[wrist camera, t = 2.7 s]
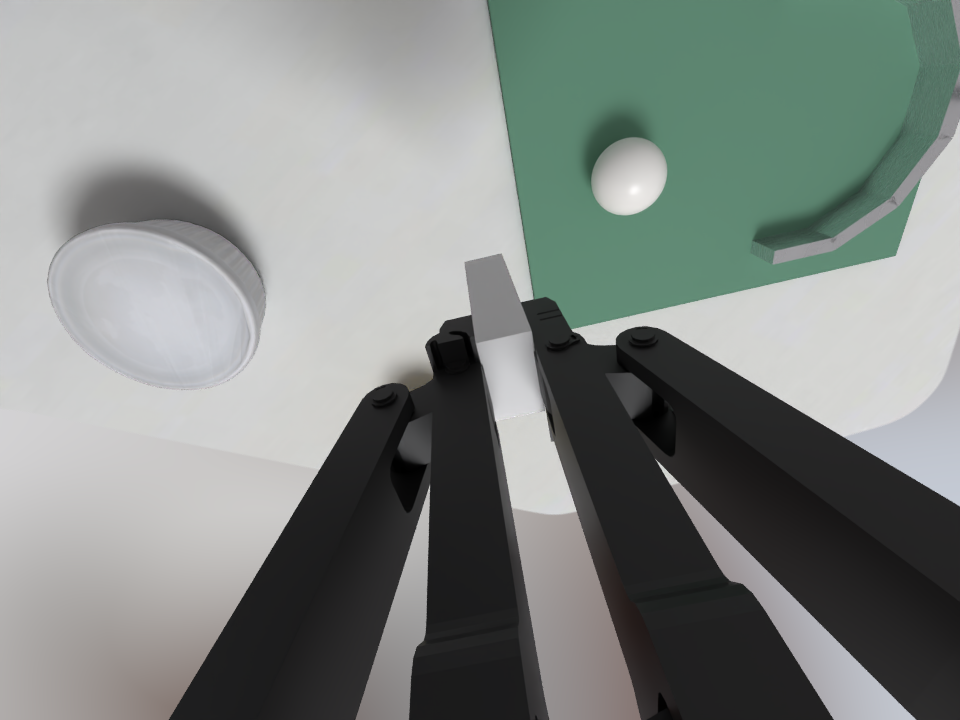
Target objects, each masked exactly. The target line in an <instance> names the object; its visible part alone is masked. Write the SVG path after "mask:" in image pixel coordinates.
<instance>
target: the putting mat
mask: <svg viewBox="0 0 960 720" xmlns="http://www.w3.org/2000/svg"><path fill="white" fill-rule="evenodd" d="M487 1H488V7H489V14H490V20H491V26H492V33H493V39H494V46H495V52H496V58H497V65H498V71H499V77H500V84H501V90H502V97H503V103H504V109H505V116H506V122H507V129H508V135H509V141H510V148H511V154H512V161H513V167H514V173H515V180H516V186H517V192H518V199H519V205H520V212H521V218H522V224H523V231H524V237H525V244H526V250H527V256H528V263H529V269H530V275H531V282H532V288H533V295H534V299H538V298H543V297H547V298H549V299H551V300H553V301H555V302H556V303H557V305H558V307H559V309H560V310H561V312H562V314H563V316H564V318H565V319H566V321H567V323H568V325H569V326H570V328H571V329H574V328H579V327H583V326H587V325H592V324H596V323H601V322H605V321H610V320H614V319H618V318H623V317H627V316H632V315H636V314H641V313H645V312H649V311H654V310H658V309H663V308H667V307H671V306H676V305H680V304H685V303H689V302H694V301H698V300H702V299H707V298H711V297H716V296H720V295H725V294H729V293H733V292H738V291H742V290H747V289H751V288H755V287H760V286H764V285H769V284H773V283H778V282H782V281H786V280H791V279H795V278H800V277H804V276H809V275H813V274H817V273H822V272H826V271H831V270H835V269H839V268H844V267H848V266H853V265H857V264H862V263H866V262H870V261H875V260H879V259H884V258H888V257H893V256H896V253H897V250H898V247H899V244H900V241H901V238H902V235H903V232H904V229H905V226H906V223H907V220H908V217H909V214H910V211H911V208H912V205H913V202H914V198H915V195H916V192H917V189H918V186H919V183H920V180H921V179H920V180H919V181H918V183H917V184H916V185H915V186H914V188H913V189H912V190H911V191H910V193H909V194H908V195H907V196H906V198H905V199H904V200H903V202H902V203H901V204H900V205H899V206H897V208H896V209H894V210H893V211H892V212H890V213H889V214H887V215H886V216H884V217H883V218H881V219H880V220H878V221H877V222H875V223H874V224H872V225H871V226H870V227H868V228H867V229H865V230H864V231H862V232H861V233H859V234H858V235H856V236H855V237H853V238H852V239H850V240H849V241H848V242H846V243H845V244H843V245H842V246H840V247H839V248H837V249H836V250H833V251H831V252H826V253H822V254H817V255H813V256H809V257H804V258H800V259H795V260H791V261H787V262H782V263H778V264H774V265H772V264H770V263H768V262H766V261H764V260H762V259H760V258H758V257H756V256H754V255H753V254H751V253H750V252H751V245H752V240H756V239H761V238H765V237H769V236H774V235H778V234H782V233H787V232H791V231H795V230H800V229H804V228H807V227H809V226H810V225H811V224H813V223H814V222H816V221H817V220H818V219H820V218H821V217H823V216H824V215H825V214H827V213H828V212H830V211H831V210H832V209H834V208H835V207H837V206H838V205H839V204H841V203H842V202H844V201H845V200H846V199H848V198H849V197H851V196H852V195H853V194H855V193H856V192H858V191H859V190H860V188H861V187H862V185H863V184H864V183H865V181H866V180H867V179H868V177H869V176H870V175H871V173H872V172H873V170H874V169H875V168H876V166H877V165H878V164H879V162H880V161H881V159H882V158H883V157H884V155H885V154H886V153H887V151H888V150H889V148H890V147H891V146H892V144H893V143H894V142H895V140H896V139H897V138H898V136H899V135H900V133H901V130H902V127H903V123H904V120H905V116H906V113H907V109H908V106H909V103H910V99H911V96H912V92H913V89H914V85H915V82H916V78H917V75H918V72H919V68H920V63H919V59H918V55H917V50H916V46H915V42H914V37H913V33H912V29H911V24H910V20H909V16H908V12H907V7H906V6H904V5H902V4H900V3H899V2H897V1H895V0H487ZM630 137H638V138H644V139H647V140H649V141H651V142H653V143H654V144H655V145H656V146H657V147H658V148H659V149H660V150H661V151H662V153H663V155H664V157H665V160H666V163H667V179H666V183H665V186H664V188H663V191H662V192H661V194H660V196H659V197H658V198H657V200H656V201H655V202H654V203H653V204H652V205H651V206H649V207H648V208H647V209H645V210H643V211H641V212H639V213H636V214H632V215H616V214H613V213H610V212H608V211H607V210H605V209H604V208H603V207H601V206H600V204H599V203H598V202H597V200H596V199H595V197H594V194H593V191H592V186H591V177H592V171H593V168H594V165H595V163H596V161H597V159H598V158H599V156H600V155H601V154H602V152H603V151H604V150H605V149H606V148H607V147H609V146H610V145H611V144H613V143H615V142H617V141H619V140H621V139H625V138H630Z"/></svg>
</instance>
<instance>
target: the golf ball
mask: <svg viewBox="0 0 960 720" xmlns="http://www.w3.org/2000/svg"><path fill="white" fill-rule="evenodd" d="M666 179H667V163H666V160H665V157H664V155H663V153H662V151H661V150H660V149H659V148H658V147H657V146H656V145H655V144H654V143H653V142H651V141H649V140H647V139H644V138H638V137H630V138H625V139H621V140H619V141H617V142H615V143H613V144H611V145H610V146H609V147H607V148H606V149H605V150H604V151H603V152H602V154H601V155H600V156H599V158H598V159H597V161H596V163H595V165H594V168H593V171H592V177H591V186H592V191H593V194H594V197H595V199H596V200H597V202H598V203H599V204H600V206H601V207H603V208H604V209H605V210H607V211H608V212H610V213H613V214H616V215H632V214H636V213H639V212H641V211H643V210H645V209H647V208H648V207H649V206H651V205H652V204H653V203H654V202H655V201H656V200H657V198H658V197H659V196H660V194H661V192H662V191H663V188H664V186H665V183H666Z"/></svg>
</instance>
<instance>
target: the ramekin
mask: <svg viewBox="0 0 960 720" xmlns="http://www.w3.org/2000/svg"><path fill="white" fill-rule="evenodd" d="M47 285H48V290H49V296H50V299H51V303H52V306H53V308H54V310H55V313H56V315H57V317H58V318H59V320H60V322H61V323H62V325H63V326H64V328H65V329H66V331H67V332H68V333H69V335H70V336H71V337H72V339H73V340H74V341H75V342H76V343H77V344H78V345H79V346H80V347H81V348H82V349H83V350H84V351H85V352H86V353H87V354H89V355H90V356H91V357H93V358H94V359H95V360H97V361H98V362H100V363H102V364H103V365H105V366H106V367H108V368H110V369H112V370H114V371H115V372H117V373H119V374H121V375H123V376H126V377H128V378H130V379H133V380H136V381H138V382H141V383H144V384H147V385H151V386H155V387H159V388H166V389H175V390H197V389H206V388H211V387H214V386H217V385H220V384H222V383H224V382H226V381H228V380H230V379H232V378H234V377H235V376H236V375H238V374H239V373H240V372H241V371H242V370H243V369H244V368H245V367H246V366H247V365H248V363H249V362H250V360H251V359H252V358H253V356H254V354H255V352H256V349H257V347H258V343H259V339H260V328H261V325H262V322H263V318H264V315H265V308H266V303H265V294H264V288H263V285H262V282H261V279H260V278H259V276H258V273H257V271H256V270H255V269H254V267H253V265H252V264H251V262H250V261H249V260H248V259H247V258H246V256H245V255H244V254H243V253H242V252H241V251H240V250H239V249H238V248H237V247H235V246H234V245H233V244H232V243H231V242H230V241H228V240H227V239H225V238H224V237H222V236H221V235H219V234H217V233H215V232H213V231H212V230H210V229H207V228H204V227H202V226H199V225H195V224H192V223H190V222H183V221H179V220H168V219H163V220H147V221H141V222H135V223H129V222H122V223H111V224H105V225H101V226H98V227H94V228H91V229H89V230H86V231H84V232H82V233H80V234H78V235H76V236H74V237H73V238H71V239H70V240H68V241H67V242H66V243H65V244H64V245H62V247H61V248H60V249H59V250H58V251H57V252H56V254H55V256H54V258H53V260H52V262H51V264H50V268H49V273H48V278H47Z"/></svg>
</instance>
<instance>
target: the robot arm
mask: <svg viewBox="0 0 960 720" xmlns="http://www.w3.org/2000/svg"><path fill="white" fill-rule="evenodd" d="M465 270H466V277H467V284H468V292H469V299H470V306H471V314H472V315H469V316H465V317H460V318H456V319H452V320H447V321H445V322H444V324H443V325H442V326H441V328H440V333H438V334H437V335H435V336H433V337H432V338H431V339H430V340H429V341H427V343H426V346H425V348H426V351H427V354H428V357H429V360H430V363H431V366H432V369H433V379H432V380H431V381H430V382H428V383H427V384H426V385H424V386H422V387H420V388H418V389H415V390H413V391H411V392H409V390H408V388H407V387H406V386H405V385H402V384H398V383H391V384H386V385H382V386H380V387H377V388H375V389H374V390H372V391H371V392H369V393H368V394H367V395H366V396H365V397H364V398H363V399H362V401H361V402H360V404H359V406H358V407H357V409H356V411H355V412H354V414H353V416H352V417H351V419H350V421H349V422H348V424H347V425H346V427H345V429H344V430H343V432H342V434H341V435H340V437H339V439H338V440H337V442H336V444H335V445H334V447H333V449H332V450H331V452H330V454H329V455H328V457H327V459H326V460H325V462H324V464H323V465H322V467H321V469H320V470H319V472H318V474H317V475H316V477H315V478H314V480H313V482H312V484H311V485H310V487H309V488H308V490H307V492H306V493H305V495H304V497H303V498H302V500H301V502H300V503H299V505H298V507H297V508H296V510H295V512H294V513H293V515H292V517H291V518H290V520H289V522H288V523H287V525H286V526H285V528H284V530H283V532H282V533H281V535H280V536H279V538H278V540H277V541H276V543H275V545H274V546H273V548H272V550H271V552H270V553H269V555H268V557H267V558H266V560H265V561H264V563H263V565H262V566H261V568H260V570H259V571H258V573H257V575H256V576H255V578H254V580H253V581H252V583H251V585H250V586H249V588H248V590H247V591H246V593H245V594H244V596H243V598H242V599H241V601H240V603H239V604H238V606H237V608H236V609H235V611H234V613H233V614H232V616H231V618H230V619H229V621H228V623H227V624H226V626H225V627H224V629H223V631H222V632H221V634H220V636H219V637H218V639H217V641H216V642H215V644H214V646H213V647H212V649H211V651H210V652H209V654H208V656H207V657H206V659H205V661H204V662H203V664H202V666H201V667H200V669H199V671H198V672H197V674H196V676H195V677H194V679H193V680H192V682H191V684H190V686H189V687H188V689H187V690H186V692H185V694H184V695H183V697H182V699H181V700H180V702H179V704H178V705H177V707H176V709H175V710H174V712H173V714H172V715H171V717H170V719H169V720H355V719H356V716H357V713H358V710H359V706H360V703H361V700H362V697H363V694H364V691H365V687H366V684H367V681H368V678H369V675H370V672H371V669H372V665H373V662H374V659H375V656H376V653H377V650H378V646H379V643H380V640H381V637H382V634H383V630H384V627H385V624H386V621H387V618H388V615H389V612H390V608H391V605H392V602H393V599H394V596H395V592H396V589H397V586H398V583H399V580H400V577H401V574H402V571H403V567H404V564H405V561H406V558H407V555H408V551H409V549H410V545H411V542H412V539H413V536H414V532H415V530H416V526H417V523H418V520H419V517H420V514H421V511H422V507H423V504H424V501H425V498H426V495H427V492H428V489H429V485H430V513H429V548H428V549H429V550H428V586H427V621H426V635H425V638H424V641H423V642H422V643H421V644H420V645H418V646H417V648H416V651H415V655H414V658H413V666H412V676H411V693H410V713H409V720H549V717H548V712H547V707H546V702H545V697H544V692H543V686H542V681H541V675H540V669H539V663H538V658H537V652H536V647H535V640H534V635H533V629H532V623H531V617H530V611H529V606H528V600H527V594H526V589H525V584H524V577H523V571H522V566H521V560H520V554H519V548H518V543H517V536H516V531H515V525H514V519H513V513H512V508H511V502H510V496H509V490H508V485H507V479H506V473H505V467H504V462H503V456H502V450H501V444H500V438H499V433H498V429H497V425H496V421H500V420H505V419H509V418H514V417H518V416H523V415H528V414H532V413H537V412H542V411H545V408H546V413H547V419H548V425H549V431H550V437H551V442H552V441H554V442H555V445H556V448H557V451H558V455H559V458H560V461H561V464H562V467H563V470H564V473H565V476H566V479H567V482H568V485H569V488H570V492H571V495H572V498H573V501H574V504H575V507H576V510H577V513H578V516H579V519H580V522H581V525H582V528H583V532H584V535H585V538H586V541H587V544H588V547H589V550H590V553H591V556H592V559H593V563H594V565H595V569H596V572H597V575H598V578H599V581H600V584H601V587H602V590H603V593H604V596H605V600H606V602H607V605H608V608H609V612H610V615H611V618H612V621H613V624H614V627H615V630H616V633H617V637H618V640H619V642H620V646H621V648H622V652H623V655H624V658H625V661H626V664H627V667H628V670H629V674H630V677H631V680H632V684H633V687H634V692H635V696H636V700H637V705H638V709H639V713H640V717H641V720H834V719H833V718H832V716H831V715H830V713H829V712H828V710H827V708H826V707H825V705H824V704H823V702H822V701H821V699H820V697H819V696H818V694H817V692H816V691H815V689H814V688H813V686H812V684H811V683H810V681H809V680H808V678H807V677H806V675H805V673H804V672H803V670H802V669H801V667H800V665H799V664H798V662H797V661H796V659H795V658H794V656H793V654H792V653H791V651H790V650H789V648H788V647H787V645H786V643H785V642H784V640H783V638H782V637H781V635H780V634H779V632H778V630H777V629H776V627H775V626H774V624H773V623H772V621H771V620H770V618H769V616H768V615H767V613H766V611H765V610H764V609H763V607H762V606H761V604H760V603H759V602H758V601H757V599H756V597H755V596H754V595H753V593H752V592H751V591H749V590H748V589H747V588H746V587H745V586H744V585H743V584H741V583H736V582H731V581H729V579H727V578H726V577H725V576H724V574H723V573H722V571H721V570H720V568H719V567H718V565H717V563H716V562H715V560H714V558H713V556H712V555H711V553H710V551H709V550H708V548H707V546H706V545H705V543H704V541H703V539H702V538H701V536H700V534H699V533H698V531H697V529H696V528H695V526H694V524H693V523H692V521H691V519H690V517H689V516H688V514H687V512H686V511H685V509H684V507H683V506H682V504H681V502H680V501H679V499H678V497H677V495H676V494H675V492H674V490H673V489H672V487H671V485H670V483H669V482H668V480H667V478H666V477H665V475H664V473H663V472H662V470H661V468H660V467H659V465H658V463H657V461H658V462H659V463H660V464H661V465H662V466H663V467H664V468H665V469H666V470H667V471H668V472H669V473H670V474H671V475H672V476H673V477H674V478H675V479H676V480H677V481H678V482H679V483H680V484H681V485H682V486H683V487H684V488H685V489H686V490H687V491H688V492H689V493H690V494H691V495H692V496H693V497H694V498H695V499H696V500H697V501H698V502H699V503H700V504H701V505H702V506H703V507H704V508H705V509H706V510H707V511H708V512H709V513H710V514H711V515H712V516H713V517H714V518H715V519H716V520H717V521H718V522H719V523H720V524H722V526H723V527H724V528H725V529H726V530H727V531H728V532H729V533H730V534H731V535H732V536H733V537H734V538H735V539H736V540H737V541H738V542H739V543H740V544H741V545H742V546H743V547H744V548H745V549H746V550H747V551H748V552H749V553H750V554H751V555H752V556H753V557H754V558H755V559H756V560H757V561H758V562H759V563H760V564H761V565H762V566H763V567H764V568H765V569H766V570H767V571H768V572H769V573H770V574H771V575H772V576H773V577H774V578H775V579H776V580H777V581H778V582H779V583H780V584H781V585H782V586H783V587H784V588H785V589H786V590H787V591H788V592H789V593H790V594H791V595H792V596H793V597H794V598H795V599H796V600H797V601H798V602H799V603H800V604H801V605H802V606H803V607H804V608H805V609H806V610H807V611H808V612H809V613H810V614H811V615H812V616H813V617H814V618H815V619H816V620H817V621H818V622H819V623H820V624H821V625H822V626H823V627H824V628H825V629H826V630H827V631H828V632H829V633H830V634H831V635H832V636H833V637H834V638H835V639H836V640H837V641H838V642H839V643H840V644H841V645H842V646H843V647H844V648H845V649H846V650H847V651H848V652H849V653H850V654H851V655H852V656H853V657H854V658H855V659H856V660H857V661H858V662H859V663H860V664H861V665H862V666H863V667H864V668H865V669H866V670H867V671H868V672H869V673H870V674H871V675H872V676H873V677H874V678H875V679H876V680H877V681H878V682H879V683H880V684H881V685H882V686H883V687H884V688H885V689H886V690H887V691H888V692H889V693H890V694H891V695H892V696H893V697H894V698H895V699H896V700H897V701H898V702H899V703H900V704H901V705H902V706H903V707H904V708H905V709H906V710H907V711H908V712H909V713H910V714H911V715H912V716H913V717H914V718H915V719H916V720H960V506H958V505H956V504H955V503H953V502H952V501H950V500H948V499H946V498H945V497H943V496H941V495H940V494H938V493H936V492H935V491H933V490H931V489H930V488H928V487H926V486H925V485H923V484H921V483H920V482H918V481H916V480H915V479H913V478H911V477H909V476H908V475H906V474H904V473H903V472H901V471H899V470H897V469H896V468H894V467H893V466H891V465H889V464H887V463H886V462H884V461H883V460H881V459H879V458H878V457H876V456H874V455H872V454H871V453H869V452H867V451H866V450H864V449H862V448H861V447H859V446H857V445H855V444H854V443H852V442H851V441H849V440H847V439H846V438H844V437H842V436H841V435H839V434H837V433H836V432H834V431H832V430H830V429H829V428H827V427H825V426H824V425H822V424H820V423H819V422H817V421H815V420H814V419H812V418H810V417H809V416H807V415H805V414H804V413H802V412H800V411H799V410H797V409H795V408H793V407H792V406H790V405H788V404H787V403H785V402H783V401H782V400H780V399H778V398H777V397H775V396H773V395H772V394H770V393H768V392H767V391H765V390H763V389H762V388H760V387H758V386H757V385H755V384H753V383H751V382H750V381H748V380H746V379H745V378H743V377H741V376H740V375H738V374H736V373H735V372H733V371H731V370H730V369H728V368H726V367H725V366H723V365H721V364H720V363H718V362H716V361H714V360H713V359H711V358H709V357H708V356H706V355H704V354H703V353H701V352H699V351H698V350H696V349H694V348H693V347H691V346H689V345H688V344H686V343H684V342H683V341H681V340H679V339H677V338H676V337H674V336H672V335H671V334H669V333H667V332H666V331H663V330H661V329H658V328H653V327H647V326H642V327H635V328H631V329H627V330H625V331H624V332H622V333H620V334H619V335H618V336H617V338H616V345H606V346H600V345H590V344H587V343H586V341H585V339H584V338H583V337H582V336H581V335H580V334H577V333H574V332H572V330H571V328H570V326H569V325H568V323H567V321H566V319H565V318H564V316H563V314H562V312H561V310H560V309H559V307H558V305H557V303H556V302H555V301H553V300H551V299H549V298H547V297H543V298H538V299H534V300H530V301H525V302H520V299H519V297H518V294H517V292H516V289H515V287H514V284H513V281H512V279H511V276H510V274H509V271H508V269H507V266H506V263H505V261H504V258H503V256H502V253H501V254H497V255H493V256H489V257H484V258H480V259H476V260H472V261H467V262H465ZM544 405H545V407H544ZM655 459H656V460H657V461H656V460H655Z"/></svg>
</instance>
